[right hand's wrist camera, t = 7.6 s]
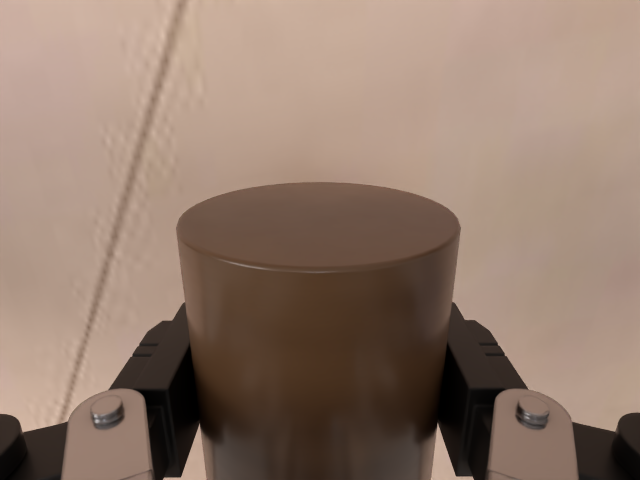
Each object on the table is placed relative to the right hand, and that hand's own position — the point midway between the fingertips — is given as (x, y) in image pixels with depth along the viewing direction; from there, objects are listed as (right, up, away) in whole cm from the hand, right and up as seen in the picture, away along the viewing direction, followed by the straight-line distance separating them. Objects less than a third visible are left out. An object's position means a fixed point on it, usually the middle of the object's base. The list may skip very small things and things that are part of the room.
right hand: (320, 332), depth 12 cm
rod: (0, -7, +4) cm, 8 cm away
